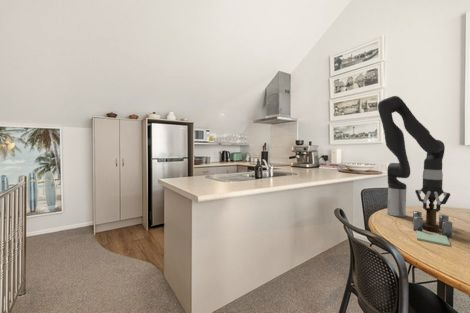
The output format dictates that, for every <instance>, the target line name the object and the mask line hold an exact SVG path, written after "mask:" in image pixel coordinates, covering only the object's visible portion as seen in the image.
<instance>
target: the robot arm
mask: <svg viewBox="0 0 470 313" xmlns="http://www.w3.org/2000/svg"><path fill="white" fill-rule="evenodd" d="M377 111H378V113H379V118H380V121H381V125H382V129H383V135H384V140H385V145H386V146H385V147H387V149H388V150H389V151H390V152H391V153H392V154H393V155H394V156H395V157H396V158H397V161H398V162H390V163H388V165H387V169H386V170H387V185H388V189H387V214H386V215H390V216H393V217H397V218H398V217H399V218H402V217H406V215H407V213H406V212H407V184H406V183H404V182H402V181H400V180H398V178H399V179H408V178H409V177H410V176H411V165H410V162H409V157H408V155H407V150H406V141H405V135H404V132H403V131H402V129H401V128H400V127H399V126H398V125H397V124H396V123H395V122H394V118H393V113H397V114H399V116H400V117H401V118H402V121H403V127H404V129H405V131H406V132H407V133H408V134H409V135H410V136H411V137H412V138H413V139H414V140H415V141H416V142H417V144H418V145H419V147H420V148H421V149H422V150H423V151H424V152H426V158H425V159H424V160H423V173H422V187H421V189H415V190H414V191H415V192H414V193H415V194H416V197H417V199H418V201H419V202H421V203H422V209H424V211H426V210H427V208H428V203H427V202H428V201H429V200H428V197H434V198H436V200H435V202H436V206H435V207H436V208H435V209H436V213H438V212H440V211H441V205H446V203H447V202H448V200H449V199H450V196H451V193H450V192H446V191H444V190H443V180H444V179H443V176H444V175H443V158H444V155H445V149H446V148H445V144H444V142H443V141H442V140H439V139H436V138H435V137H433V136H432V134H431V133H430V131H429V129H428V128H427V127H426V126H425V125H423V123H422V122H420V121H419V120H418V119H417V118H416V116H415V115H414V114H413V112H412V111H411V109H409V107H408V106H407V105H406V103H405V102H404V100H403V98H401V97H400V96H397V95H393V96H390V97H389V96H388V97H387V98H384V99H381V100H380V101H379V102H378V104H377ZM421 193H423V194H424V198H423V199H422V197H421ZM442 194H443V199H442V200H440V196H441V195H442Z"/></svg>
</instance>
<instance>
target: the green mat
mask: <svg viewBox="0 0 470 313" xmlns="http://www.w3.org/2000/svg"><path fill="white" fill-rule="evenodd" d="M415 233H416V240H417V241H422V242H426V243H431V244H436V245H442V246H447V247H451V244H450V241H449V238H448V237H447V236H444V235H441V234H438V233H437V234H436V233H434V232H426V231H423V232H422V231H417V230H416V231H415Z"/></svg>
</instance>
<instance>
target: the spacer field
mask: <svg viewBox="0 0 470 313" xmlns="http://www.w3.org/2000/svg"><path fill="white" fill-rule="evenodd" d="M412 212H413V214H412V224H413V227H412V228H413V231H414V232H416V230H417V231H422V232H424V231H423V230H424V229H423V224H424V218H423V217H422V214H423V212H421V211H418V210H413V211H412ZM449 217H450V216H449V215H446V214H439V215H438V226H439V227H440V230H441V233H440V235H444V236H447V238H448V239H449V238H452V237H453V222H452V221H449Z"/></svg>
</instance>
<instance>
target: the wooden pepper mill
mask: <svg viewBox="0 0 470 313" xmlns="http://www.w3.org/2000/svg"><path fill="white" fill-rule="evenodd" d="M427 201H428V202H429V203H428V207H427V210H425V211H426V212H425V213H426V214H425V222H423V230H424V231H428V232H431V233H438V232H440V231H441V229H440V227H439V224H437V212H436V208H435V204H434V203H435V202H436V198H434V197H428V200H427Z"/></svg>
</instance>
